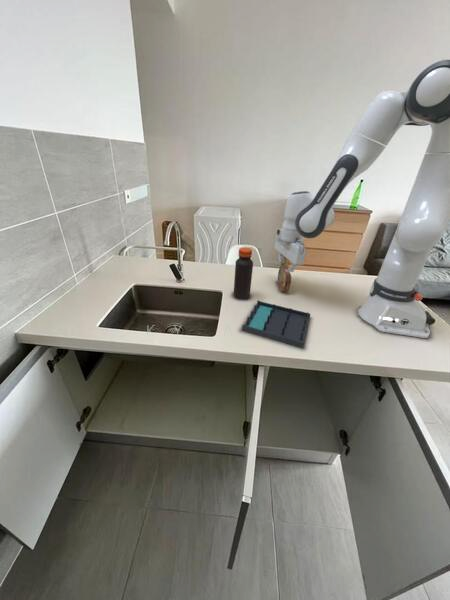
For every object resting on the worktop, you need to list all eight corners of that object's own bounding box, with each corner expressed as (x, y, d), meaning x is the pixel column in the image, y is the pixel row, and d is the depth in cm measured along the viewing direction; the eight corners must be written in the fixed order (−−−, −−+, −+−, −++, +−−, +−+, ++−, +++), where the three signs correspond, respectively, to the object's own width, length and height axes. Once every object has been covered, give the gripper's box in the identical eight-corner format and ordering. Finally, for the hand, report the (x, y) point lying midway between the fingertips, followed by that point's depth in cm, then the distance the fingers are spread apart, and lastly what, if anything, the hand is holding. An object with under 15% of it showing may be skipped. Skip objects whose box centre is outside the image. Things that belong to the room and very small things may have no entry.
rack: (309, 317, 89) (311, 309, 87) (302, 348, 75) (305, 338, 73) (257, 304, 95) (258, 296, 93) (241, 330, 81) (242, 321, 79)
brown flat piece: (276, 279, 116) (279, 262, 112) (283, 279, 116) (286, 263, 112) (281, 295, 103) (285, 277, 99) (289, 295, 103) (293, 277, 99)
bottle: (237, 290, 105) (240, 245, 95) (252, 294, 103) (257, 248, 92) (230, 297, 100) (233, 250, 89) (246, 301, 97) (250, 253, 87)
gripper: (312, 242, 89) (304, 276, 97) (287, 228, 106) (282, 257, 113) (297, 243, 88) (290, 277, 95) (274, 228, 105) (270, 258, 112)
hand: (286, 266), depth 104 cm, fingers open, 8 cm apart
